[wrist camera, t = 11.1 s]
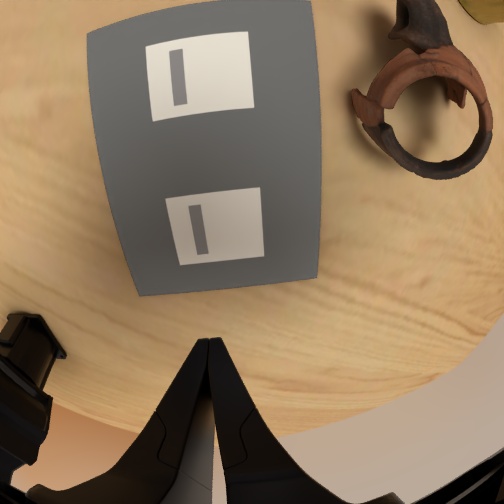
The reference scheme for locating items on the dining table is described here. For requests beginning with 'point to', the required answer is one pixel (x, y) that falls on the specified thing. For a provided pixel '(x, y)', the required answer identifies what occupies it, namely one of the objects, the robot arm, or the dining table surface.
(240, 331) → the dining table surface
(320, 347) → the dining table surface
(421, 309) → the dining table surface
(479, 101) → the brown curved piece
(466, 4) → the vase
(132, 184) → the label mat
